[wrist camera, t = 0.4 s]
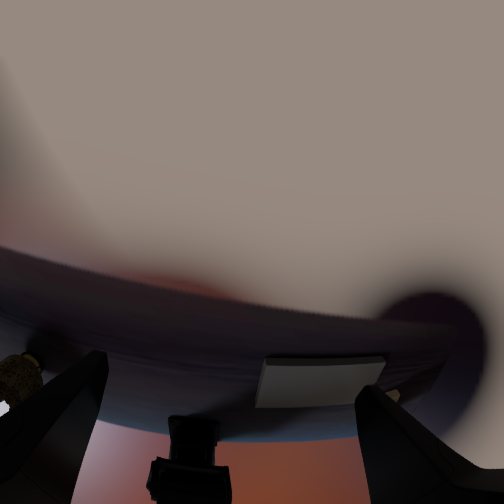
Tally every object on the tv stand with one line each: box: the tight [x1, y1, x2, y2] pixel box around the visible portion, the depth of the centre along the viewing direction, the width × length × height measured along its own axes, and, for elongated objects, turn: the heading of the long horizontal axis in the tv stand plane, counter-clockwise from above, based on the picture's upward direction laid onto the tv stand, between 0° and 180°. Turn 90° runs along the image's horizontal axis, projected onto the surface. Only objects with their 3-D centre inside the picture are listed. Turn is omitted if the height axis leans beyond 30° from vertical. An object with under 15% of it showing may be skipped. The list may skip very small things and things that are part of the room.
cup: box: [0, 351, 43, 411], centre depth 22 cm, size 8×7×8 cm
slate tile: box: [255, 356, 386, 408], centre depth 28 cm, size 7×14×1 cm, turn 82°
